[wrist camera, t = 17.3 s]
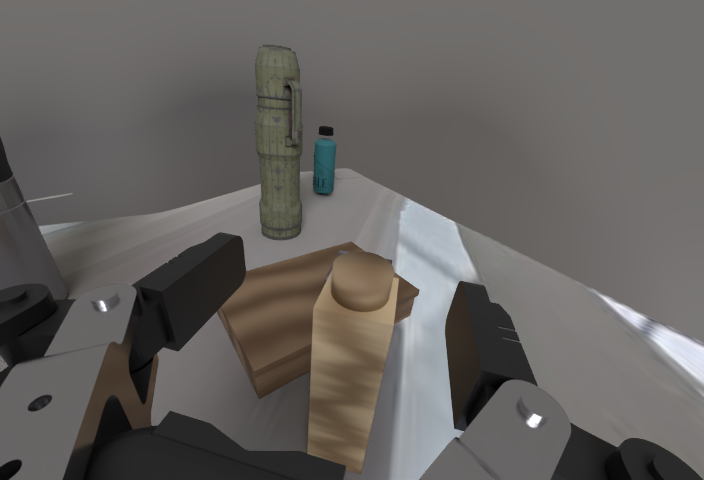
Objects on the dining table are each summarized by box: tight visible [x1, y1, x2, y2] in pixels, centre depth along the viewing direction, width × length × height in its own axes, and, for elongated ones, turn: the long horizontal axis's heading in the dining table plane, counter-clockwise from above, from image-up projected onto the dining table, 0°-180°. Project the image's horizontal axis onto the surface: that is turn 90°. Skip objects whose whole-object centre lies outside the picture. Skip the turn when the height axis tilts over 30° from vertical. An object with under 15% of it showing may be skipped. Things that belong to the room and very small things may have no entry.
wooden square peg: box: [307, 251, 399, 474], centre depth 23 cm, size 5×5×20 cm
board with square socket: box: [217, 242, 419, 399], centre depth 41 cm, size 17×25×8 cm
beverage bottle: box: [313, 126, 336, 193], centre depth 84 cm, size 6×7×20 cm
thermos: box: [255, 45, 302, 240], centre depth 57 cm, size 9×12×35 cm
